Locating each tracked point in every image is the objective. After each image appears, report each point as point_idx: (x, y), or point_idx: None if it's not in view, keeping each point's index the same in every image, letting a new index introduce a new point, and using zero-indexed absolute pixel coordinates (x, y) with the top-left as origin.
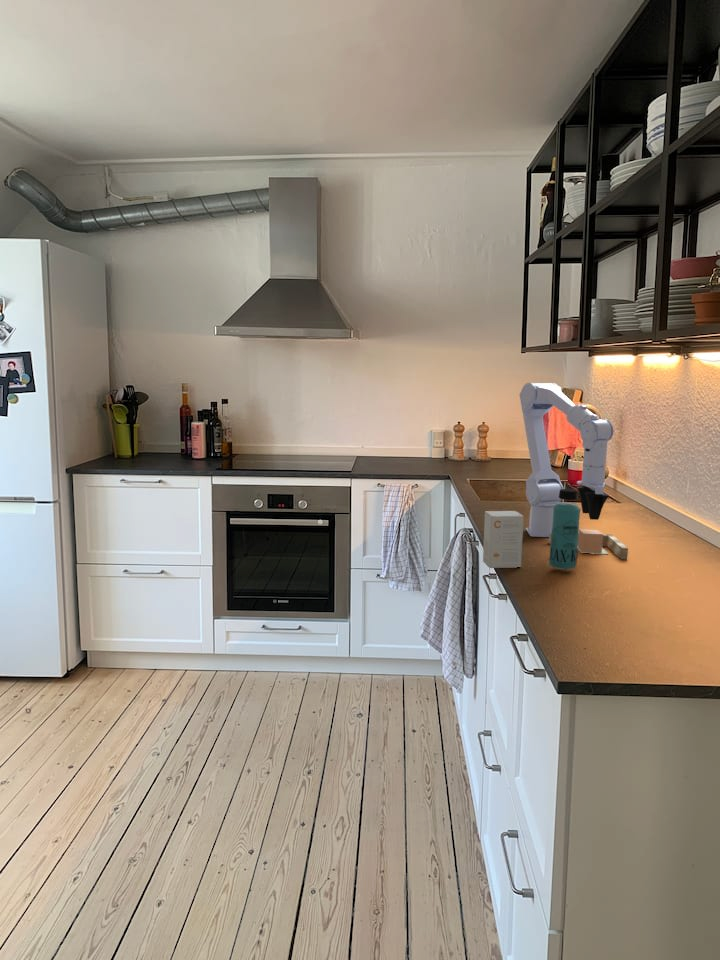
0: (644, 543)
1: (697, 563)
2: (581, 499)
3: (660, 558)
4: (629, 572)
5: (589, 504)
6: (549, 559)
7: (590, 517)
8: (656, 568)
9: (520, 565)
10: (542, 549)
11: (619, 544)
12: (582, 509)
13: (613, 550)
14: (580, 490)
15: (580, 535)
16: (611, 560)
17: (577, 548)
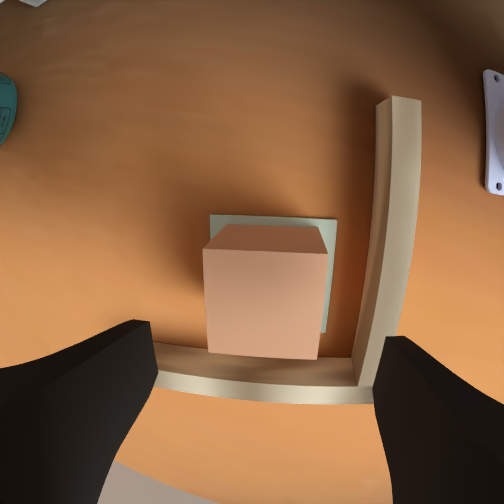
0: (376, 455)
1: (175, 476)
2: (444, 404)
3: (201, 441)
4: (36, 303)
5: (19, 364)
6: (1, 72)
7: (120, 324)
8: None
9: (31, 5)
10: (268, 49)
11: (192, 380)
12: (398, 347)
13: (255, 357)
14: (502, 492)
15: (283, 243)
16: (133, 304)
17: (292, 218)
